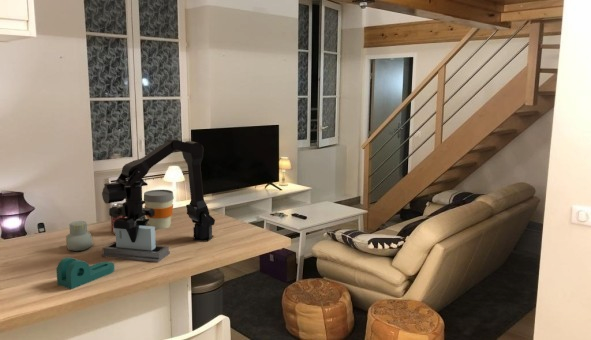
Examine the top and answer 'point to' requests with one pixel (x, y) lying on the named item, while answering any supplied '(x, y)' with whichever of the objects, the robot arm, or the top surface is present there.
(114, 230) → the soda can
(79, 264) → the bracket
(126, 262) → the top surface
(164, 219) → the reusable coffee cup
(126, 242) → the door panel
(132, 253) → the floor track
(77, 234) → the air freshener
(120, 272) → the top surface
